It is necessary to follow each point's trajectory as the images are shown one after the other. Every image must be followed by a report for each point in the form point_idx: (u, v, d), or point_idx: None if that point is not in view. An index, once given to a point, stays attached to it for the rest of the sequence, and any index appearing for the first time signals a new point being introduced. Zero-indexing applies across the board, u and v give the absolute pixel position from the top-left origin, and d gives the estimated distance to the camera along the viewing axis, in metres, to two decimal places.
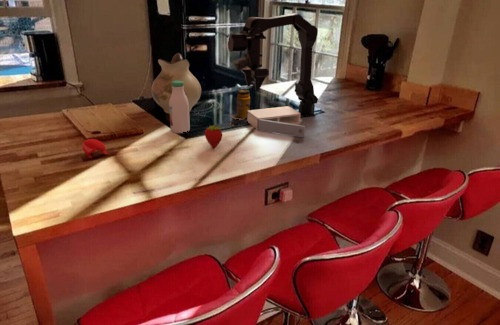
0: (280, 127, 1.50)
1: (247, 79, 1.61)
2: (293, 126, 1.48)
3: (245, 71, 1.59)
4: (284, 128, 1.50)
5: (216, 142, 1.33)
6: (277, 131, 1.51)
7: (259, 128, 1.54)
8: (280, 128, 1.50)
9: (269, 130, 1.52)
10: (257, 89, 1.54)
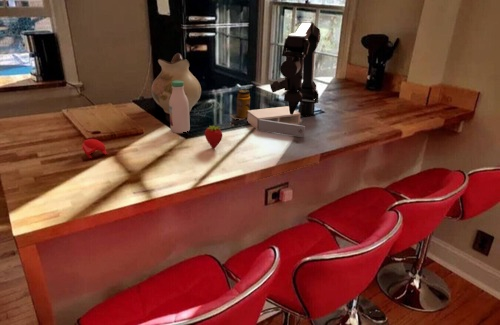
0: (280, 127, 1.50)
1: None
2: (293, 126, 1.48)
3: None
4: (284, 128, 1.50)
5: (216, 142, 1.33)
6: (277, 131, 1.51)
7: (259, 128, 1.54)
8: (280, 128, 1.50)
9: (269, 130, 1.52)
10: (291, 111, 1.39)
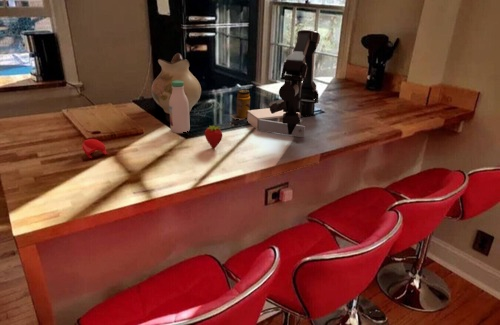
0: (280, 127, 1.50)
1: None
2: None
3: None
4: (284, 128, 1.50)
5: (216, 142, 1.33)
6: (277, 131, 1.51)
7: (259, 128, 1.54)
8: (280, 128, 1.50)
9: (269, 130, 1.52)
10: (290, 132, 1.43)
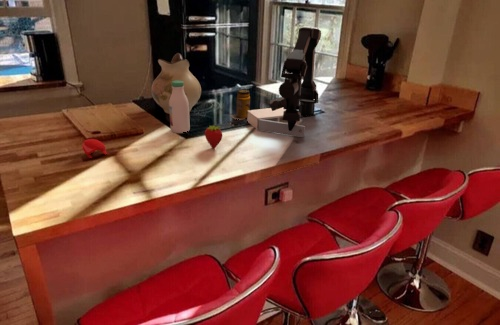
0: (280, 127, 1.50)
1: None
2: None
3: None
4: (284, 128, 1.50)
5: (216, 142, 1.33)
6: (277, 131, 1.51)
7: (259, 128, 1.54)
8: (280, 128, 1.50)
9: (269, 130, 1.52)
10: (290, 128, 1.47)
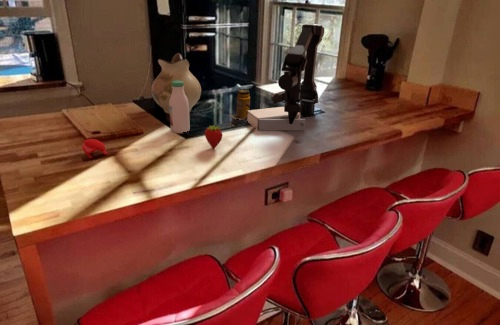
0: (282, 123, 1.54)
1: None
2: (294, 121, 1.54)
3: None
4: (285, 124, 1.54)
5: (216, 142, 1.33)
6: (278, 128, 1.55)
7: (260, 128, 1.54)
8: (281, 125, 1.54)
9: (270, 128, 1.54)
10: (291, 122, 1.52)
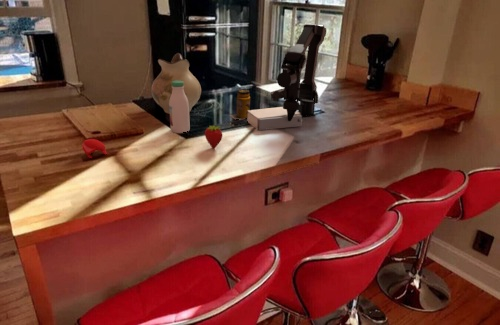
0: (280, 121, 1.56)
1: None
2: (292, 118, 1.57)
3: None
4: (284, 122, 1.57)
5: (216, 142, 1.33)
6: (277, 126, 1.57)
7: (260, 128, 1.54)
8: (280, 123, 1.56)
9: (270, 127, 1.56)
10: (289, 119, 1.55)
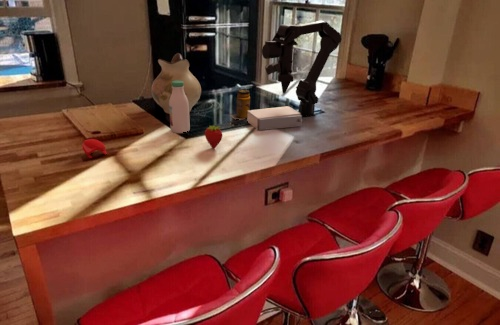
0: (280, 121, 1.56)
1: None
2: (292, 118, 1.57)
3: None
4: (284, 122, 1.57)
5: (216, 142, 1.33)
6: (277, 126, 1.57)
7: (260, 128, 1.54)
8: (280, 123, 1.56)
9: (270, 127, 1.56)
10: (284, 91, 1.63)
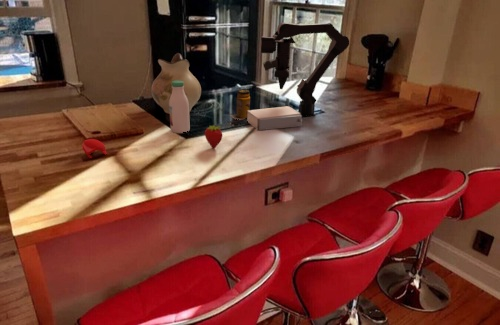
0: (280, 121, 1.56)
1: None
2: (292, 118, 1.57)
3: None
4: (284, 122, 1.57)
5: (216, 142, 1.33)
6: (277, 126, 1.57)
7: (260, 128, 1.54)
8: (280, 123, 1.56)
9: (270, 127, 1.56)
10: (281, 87, 1.68)
